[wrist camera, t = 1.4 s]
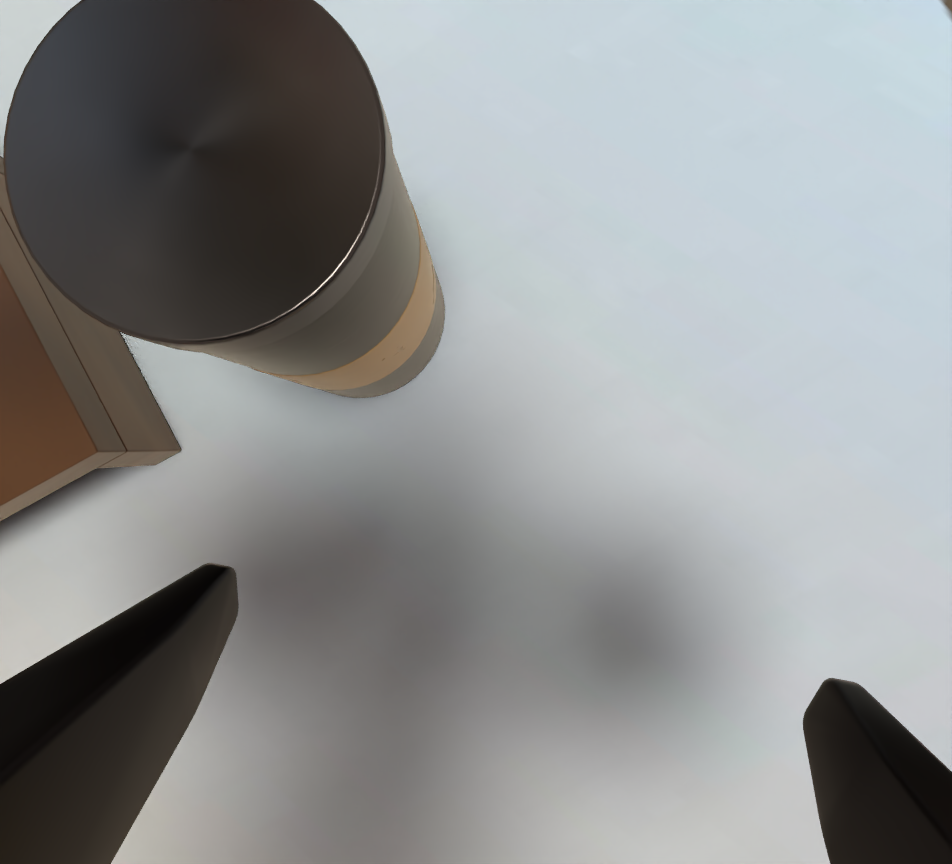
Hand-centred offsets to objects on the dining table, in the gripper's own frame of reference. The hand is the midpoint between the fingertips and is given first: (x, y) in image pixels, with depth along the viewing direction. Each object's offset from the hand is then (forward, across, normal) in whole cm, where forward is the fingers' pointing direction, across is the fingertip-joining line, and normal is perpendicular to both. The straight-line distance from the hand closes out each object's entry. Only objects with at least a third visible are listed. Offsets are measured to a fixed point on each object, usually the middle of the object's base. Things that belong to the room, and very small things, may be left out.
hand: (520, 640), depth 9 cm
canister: (+15, +7, +1) cm, 17 cm away
